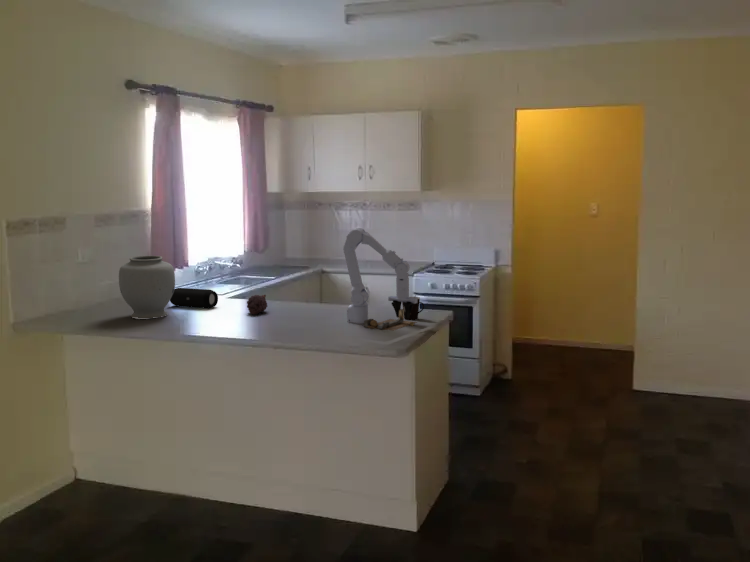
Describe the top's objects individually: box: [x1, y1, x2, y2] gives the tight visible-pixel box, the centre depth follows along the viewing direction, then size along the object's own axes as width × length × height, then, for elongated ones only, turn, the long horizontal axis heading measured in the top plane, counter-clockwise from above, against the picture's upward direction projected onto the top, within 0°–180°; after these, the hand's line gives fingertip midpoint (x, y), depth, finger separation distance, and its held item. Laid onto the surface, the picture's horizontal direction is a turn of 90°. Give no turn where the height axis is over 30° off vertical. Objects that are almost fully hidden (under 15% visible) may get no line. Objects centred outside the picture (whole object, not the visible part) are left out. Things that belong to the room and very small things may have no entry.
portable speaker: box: [169, 287, 219, 309], centre depth 396 cm, size 26×10×10 cm, turn 66°
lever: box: [378, 308, 405, 330], centre depth 333 cm, size 3×18×6 cm, turn 143°
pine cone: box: [246, 294, 268, 315], centre depth 376 cm, size 18×10×10 cm
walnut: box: [370, 319, 378, 327], centre depth 331 cm, size 3×3×3 cm
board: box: [363, 318, 418, 331], centre depth 335 cm, size 17×21×4 cm
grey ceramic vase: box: [118, 255, 176, 318], centre depth 371 cm, size 27×27×30 cm
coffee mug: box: [401, 296, 425, 321], centre depth 351 cm, size 12×9×10 cm
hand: (403, 317), depth 339 cm, fingers open, 4 cm apart
